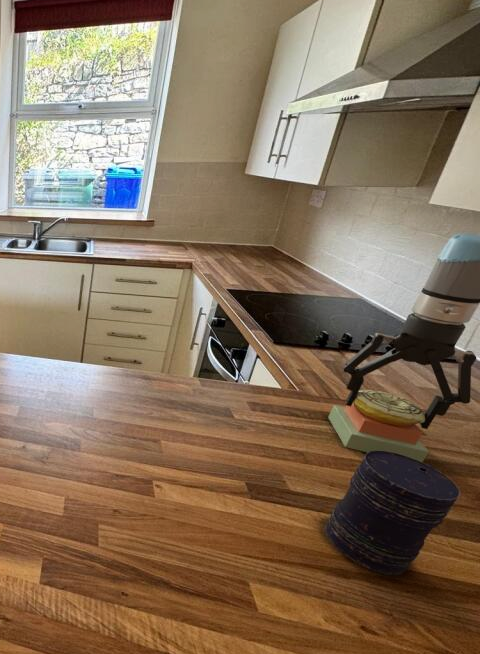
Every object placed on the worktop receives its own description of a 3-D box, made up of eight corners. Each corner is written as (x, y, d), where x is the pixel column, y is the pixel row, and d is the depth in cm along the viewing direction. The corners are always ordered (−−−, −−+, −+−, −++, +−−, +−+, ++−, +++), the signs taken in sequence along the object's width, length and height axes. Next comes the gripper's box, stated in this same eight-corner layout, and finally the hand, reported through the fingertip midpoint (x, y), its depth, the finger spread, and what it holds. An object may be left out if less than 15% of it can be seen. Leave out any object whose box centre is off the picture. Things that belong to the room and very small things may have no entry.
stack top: (395, 421, 88) (402, 409, 87) (415, 445, 81) (422, 433, 80) (344, 410, 92) (349, 398, 91) (358, 432, 84) (364, 420, 83)
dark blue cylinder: (378, 583, 58) (431, 507, 51) (309, 526, 66) (347, 456, 60) (424, 565, 60) (479, 492, 54) (351, 514, 69) (392, 445, 63)
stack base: (394, 432, 90) (401, 419, 89) (420, 465, 81) (429, 451, 79) (327, 417, 95) (333, 404, 94) (345, 447, 85) (352, 433, 84)
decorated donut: (434, 431, 80) (444, 416, 79) (380, 429, 80) (389, 413, 79) (387, 401, 90) (395, 387, 88) (338, 400, 90) (345, 385, 88)
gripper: (356, 307, 80) (314, 400, 89) (543, 342, 66) (470, 447, 76) (355, 298, 85) (315, 387, 94) (528, 329, 72) (462, 429, 81)
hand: (384, 414), depth 85 cm, fingers closed on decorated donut, 11 cm apart
